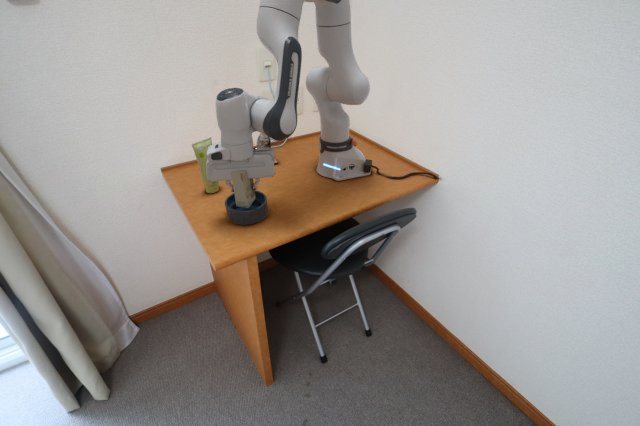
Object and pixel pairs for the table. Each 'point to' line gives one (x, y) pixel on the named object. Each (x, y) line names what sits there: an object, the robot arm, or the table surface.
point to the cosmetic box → (243, 189)
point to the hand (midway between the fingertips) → (244, 190)
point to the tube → (204, 163)
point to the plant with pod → (264, 142)
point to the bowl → (247, 210)
